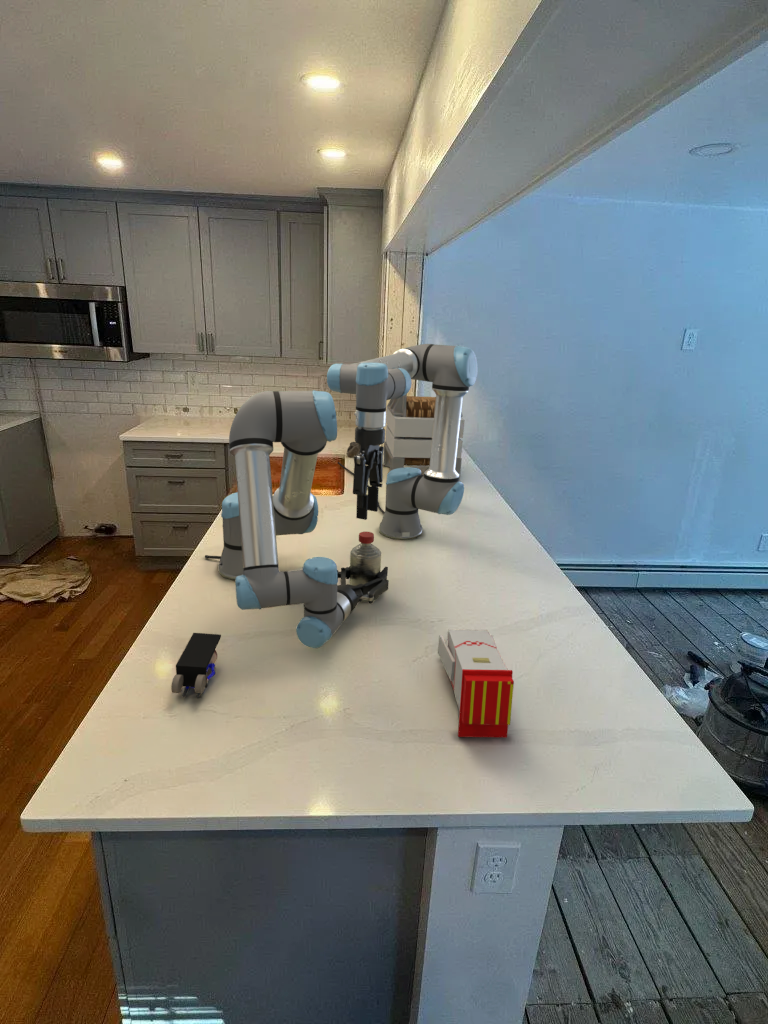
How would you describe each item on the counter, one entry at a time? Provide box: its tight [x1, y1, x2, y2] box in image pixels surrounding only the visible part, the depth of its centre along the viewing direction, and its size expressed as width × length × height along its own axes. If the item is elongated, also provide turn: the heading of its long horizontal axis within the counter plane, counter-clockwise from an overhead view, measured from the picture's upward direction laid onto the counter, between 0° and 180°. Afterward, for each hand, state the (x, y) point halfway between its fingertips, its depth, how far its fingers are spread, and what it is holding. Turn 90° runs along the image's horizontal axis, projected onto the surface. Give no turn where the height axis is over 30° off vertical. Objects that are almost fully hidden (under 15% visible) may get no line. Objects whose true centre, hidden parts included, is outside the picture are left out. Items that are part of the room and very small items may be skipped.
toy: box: [437, 628, 515, 738], centre depth 117 cm, size 12×13×30 cm
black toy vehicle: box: [170, 632, 222, 699], centre depth 117 cm, size 7×8×15 cm
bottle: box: [349, 542, 382, 603], centre depth 154 cm, size 8×8×18 cm
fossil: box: [346, 441, 360, 458], centre depth 305 cm, size 22×10×15 cm
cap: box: [358, 531, 375, 544], centre depth 151 cm, size 4×4×2 cm
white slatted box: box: [383, 393, 465, 482], centre depth 268 cm, size 34×33×41 cm
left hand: (371, 568), depth 159 cm, fingers closed on bottle, 8 cm apart
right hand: (367, 514), depth 148 cm, fingers open, 6 cm apart
